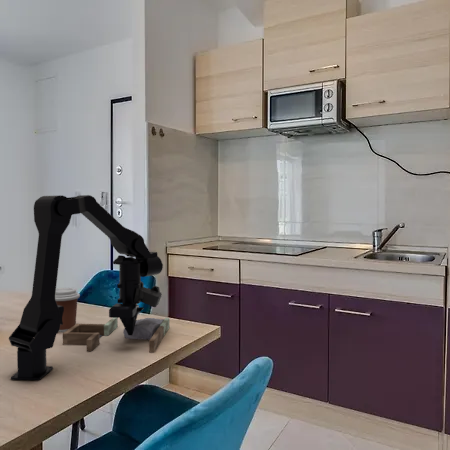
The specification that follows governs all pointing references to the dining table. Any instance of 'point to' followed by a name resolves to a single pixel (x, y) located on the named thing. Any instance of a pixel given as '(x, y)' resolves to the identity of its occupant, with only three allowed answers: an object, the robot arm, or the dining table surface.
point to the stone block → (144, 328)
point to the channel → (106, 334)
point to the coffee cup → (67, 306)
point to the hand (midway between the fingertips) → (130, 335)
